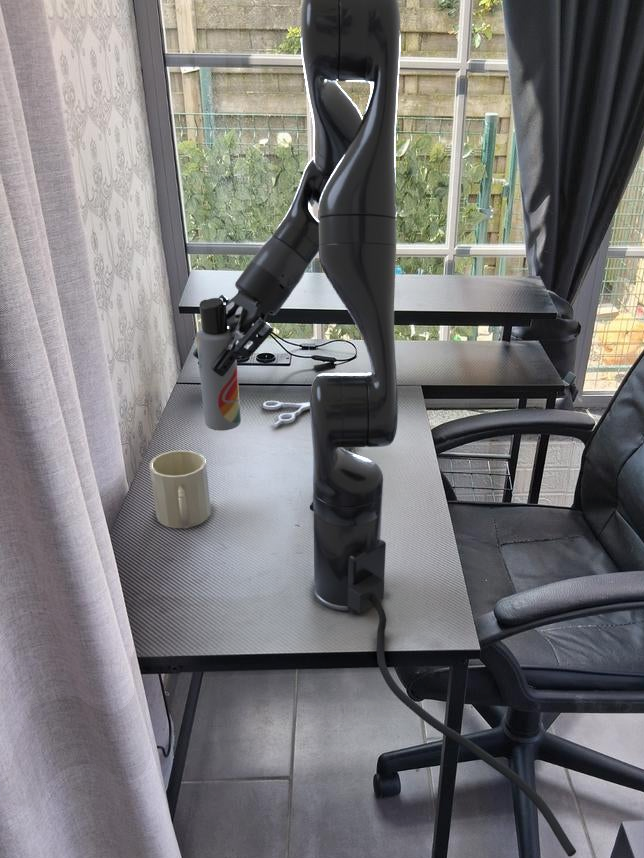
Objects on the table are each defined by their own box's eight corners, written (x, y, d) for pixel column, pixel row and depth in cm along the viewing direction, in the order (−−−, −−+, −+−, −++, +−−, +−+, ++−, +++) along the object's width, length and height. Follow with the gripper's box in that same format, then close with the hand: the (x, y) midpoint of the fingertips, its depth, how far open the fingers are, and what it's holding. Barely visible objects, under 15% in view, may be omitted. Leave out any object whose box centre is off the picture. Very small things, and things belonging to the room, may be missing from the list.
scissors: (254, 403, 164) (340, 385, 173) (254, 407, 165) (340, 389, 173) (275, 424, 157) (363, 404, 165) (275, 427, 157) (363, 408, 166)
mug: (155, 503, 132) (148, 453, 127) (208, 497, 135) (203, 447, 129) (158, 543, 123) (151, 490, 118) (214, 536, 125) (209, 484, 120)
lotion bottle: (248, 423, 127) (239, 301, 117) (219, 434, 124) (207, 309, 113) (226, 412, 131) (216, 292, 120) (197, 422, 127) (184, 300, 116)
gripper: (233, 249, 122) (169, 337, 123) (280, 273, 113) (210, 369, 113) (265, 278, 128) (203, 363, 128) (312, 303, 118) (246, 395, 119)
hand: (207, 365), depth 121 cm, fingers closed on lotion bottle, 5 cm apart
